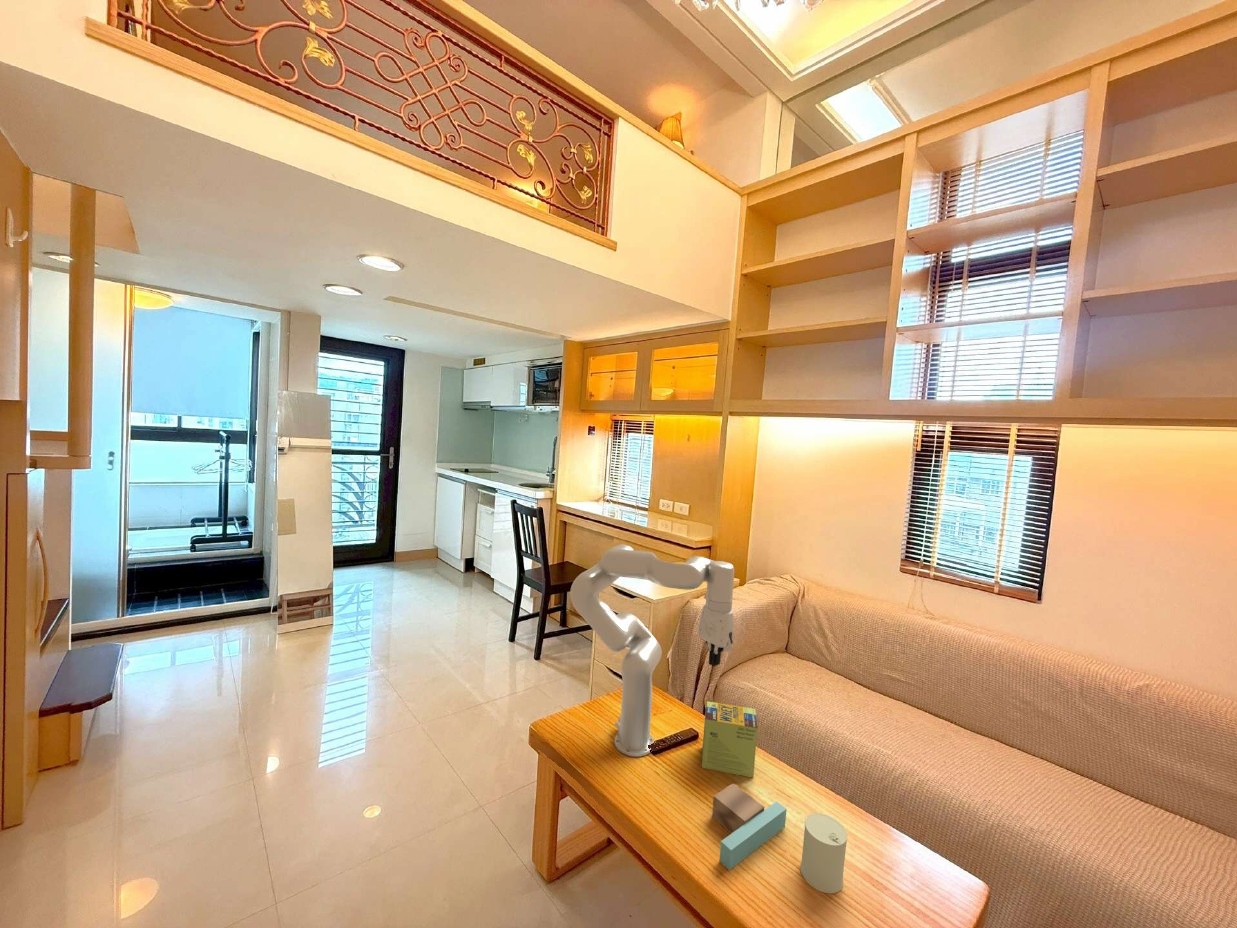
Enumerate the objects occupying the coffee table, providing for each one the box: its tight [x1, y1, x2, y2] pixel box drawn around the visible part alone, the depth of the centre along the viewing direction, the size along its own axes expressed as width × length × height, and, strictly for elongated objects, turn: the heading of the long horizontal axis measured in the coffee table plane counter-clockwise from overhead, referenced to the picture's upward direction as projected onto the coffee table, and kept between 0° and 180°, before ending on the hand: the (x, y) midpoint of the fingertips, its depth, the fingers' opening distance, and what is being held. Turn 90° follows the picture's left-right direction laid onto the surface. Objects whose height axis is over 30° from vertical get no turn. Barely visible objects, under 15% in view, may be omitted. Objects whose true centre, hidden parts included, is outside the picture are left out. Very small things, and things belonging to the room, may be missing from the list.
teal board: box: [719, 801, 787, 871], centre depth 122 cm, size 3×22×5 cm, turn 128°
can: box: [799, 812, 848, 894], centre depth 114 cm, size 9×9×12 cm
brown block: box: [711, 783, 765, 834], centre depth 128 cm, size 10×8×6 cm
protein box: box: [701, 701, 759, 778], centre depth 151 cm, size 10×15×16 cm
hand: (714, 664), depth 146 cm, fingers closed
